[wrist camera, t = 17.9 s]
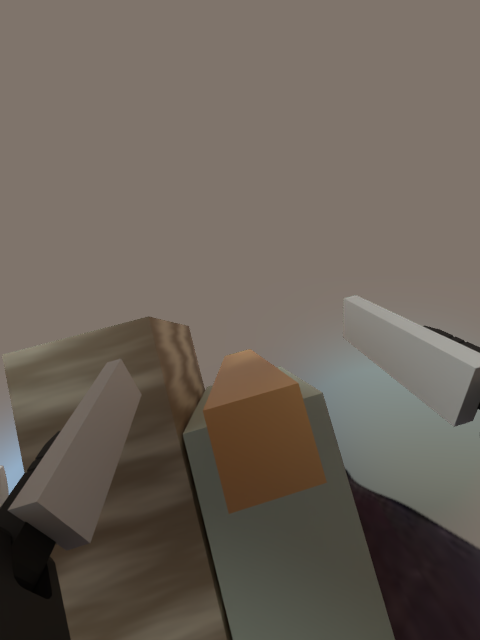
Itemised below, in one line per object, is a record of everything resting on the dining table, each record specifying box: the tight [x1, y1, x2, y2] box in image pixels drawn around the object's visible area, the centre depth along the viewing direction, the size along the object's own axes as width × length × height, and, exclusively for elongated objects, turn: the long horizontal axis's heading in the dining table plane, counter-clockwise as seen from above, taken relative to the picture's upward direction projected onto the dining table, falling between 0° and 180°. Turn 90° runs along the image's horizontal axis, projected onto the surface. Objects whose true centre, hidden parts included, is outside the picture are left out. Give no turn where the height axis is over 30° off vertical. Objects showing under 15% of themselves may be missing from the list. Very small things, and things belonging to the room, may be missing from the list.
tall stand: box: [2, 317, 233, 640], centre depth 24 cm, size 16×12×30 cm
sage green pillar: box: [183, 366, 395, 640], centre depth 25 cm, size 16×12×20 cm
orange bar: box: [203, 349, 327, 514], centre depth 20 cm, size 24×4×4 cm, turn 2°
